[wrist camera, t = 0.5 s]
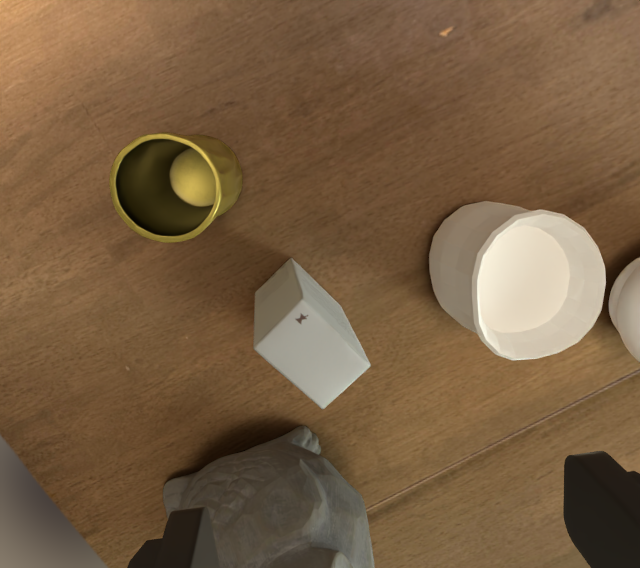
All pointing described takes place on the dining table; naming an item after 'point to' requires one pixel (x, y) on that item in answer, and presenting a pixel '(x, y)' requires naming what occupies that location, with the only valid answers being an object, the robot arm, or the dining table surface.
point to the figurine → (278, 507)
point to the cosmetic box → (306, 335)
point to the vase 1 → (174, 184)
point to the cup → (518, 277)
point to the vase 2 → (627, 307)
